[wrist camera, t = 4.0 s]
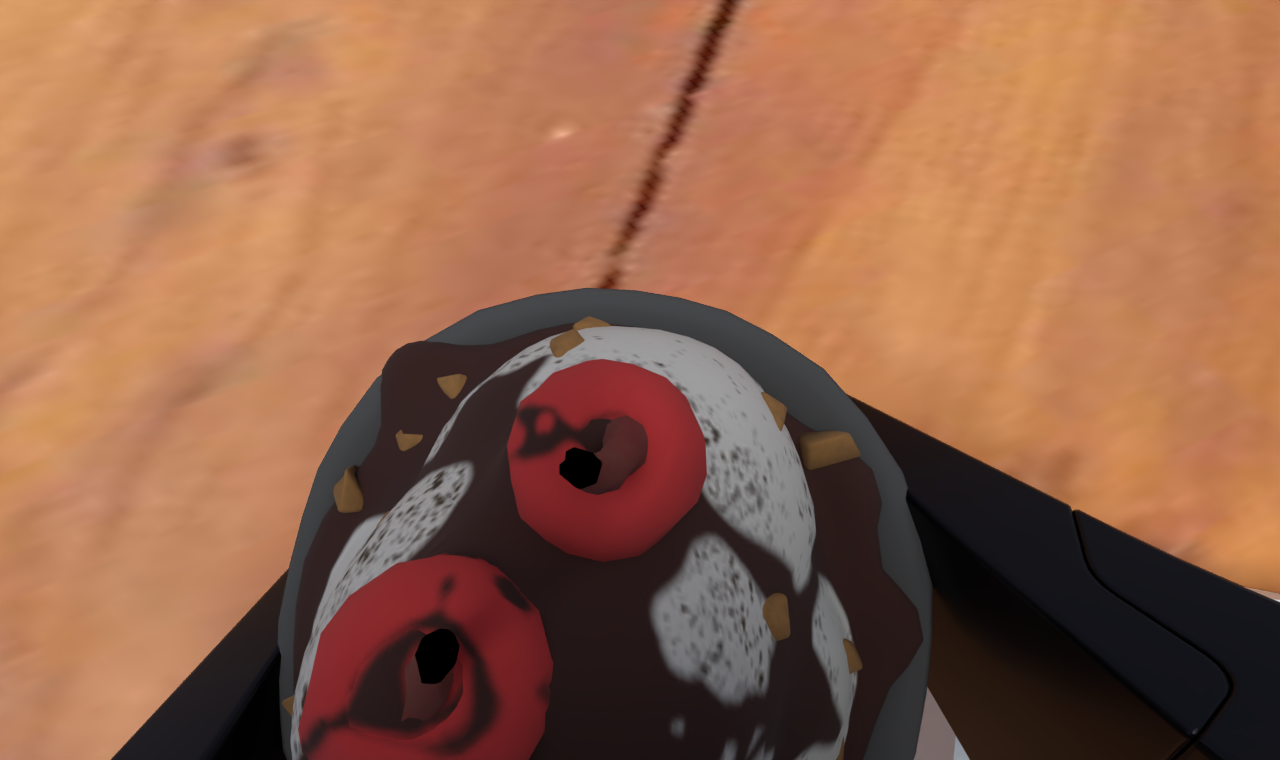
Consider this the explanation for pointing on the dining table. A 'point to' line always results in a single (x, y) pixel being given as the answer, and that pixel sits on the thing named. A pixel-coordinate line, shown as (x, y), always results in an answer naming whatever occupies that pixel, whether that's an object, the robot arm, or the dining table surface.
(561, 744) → the sundae
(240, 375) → the dining table surface
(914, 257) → the dining table surface
